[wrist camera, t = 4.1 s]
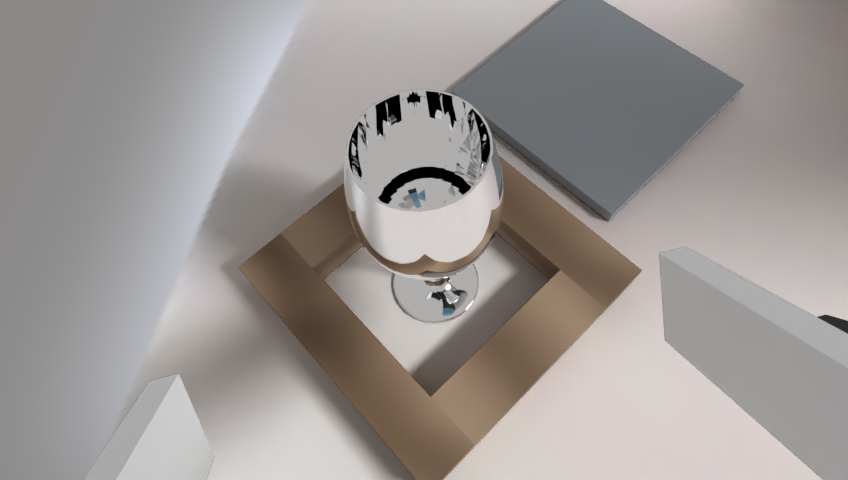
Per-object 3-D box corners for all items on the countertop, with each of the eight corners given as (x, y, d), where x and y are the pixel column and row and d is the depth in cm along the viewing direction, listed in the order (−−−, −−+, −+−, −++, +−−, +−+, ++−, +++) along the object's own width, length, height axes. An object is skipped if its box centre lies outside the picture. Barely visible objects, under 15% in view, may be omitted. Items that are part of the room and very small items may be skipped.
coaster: (578, -3, 35) (581, -13, 34) (737, 94, 31) (744, 85, 30) (451, 99, 32) (451, 90, 31) (608, 221, 28) (612, 214, 27)
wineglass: (377, 238, 28) (325, 87, 18) (482, 226, 28) (495, 65, 17) (384, 342, 26) (329, 240, 15) (499, 329, 26) (527, 216, 15)
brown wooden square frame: (439, 127, 31) (438, 107, 30) (630, 283, 26) (642, 270, 25) (250, 280, 28) (237, 267, 26) (430, 492, 23) (428, 493, 21)
